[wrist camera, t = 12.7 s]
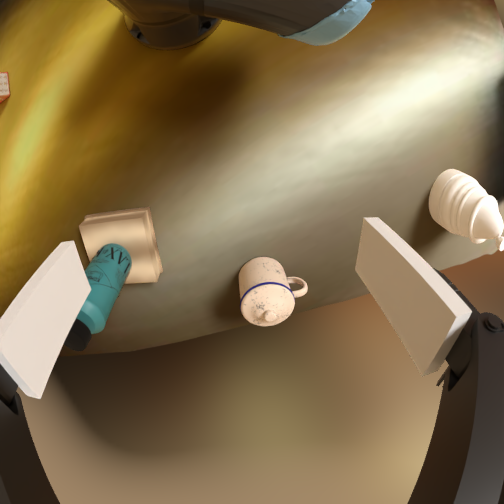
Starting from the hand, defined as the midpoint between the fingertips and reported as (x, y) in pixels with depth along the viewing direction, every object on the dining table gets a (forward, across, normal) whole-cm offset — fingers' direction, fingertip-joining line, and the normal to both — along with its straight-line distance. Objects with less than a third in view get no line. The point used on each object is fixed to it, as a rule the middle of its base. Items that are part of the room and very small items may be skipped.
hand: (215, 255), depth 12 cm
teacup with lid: (+33, +7, -24) cm, 41 cm away
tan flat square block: (+33, -19, -15) cm, 41 cm away
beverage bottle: (+29, -19, -15) cm, 38 cm away
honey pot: (+33, +47, -9) cm, 58 cm away
